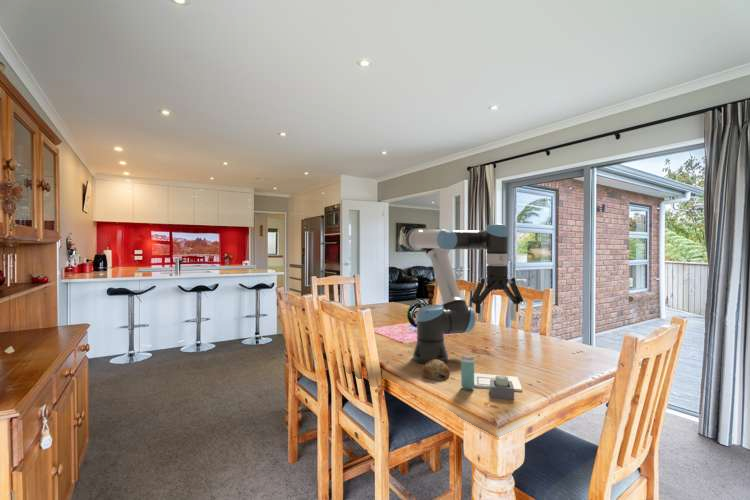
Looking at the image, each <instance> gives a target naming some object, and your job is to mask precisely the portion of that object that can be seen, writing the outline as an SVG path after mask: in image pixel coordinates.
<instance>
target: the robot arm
mask: <svg viewBox="0 0 750 500" xmlns="http://www.w3.org/2000/svg"><path fill="white" fill-rule="evenodd" d="M508 241H509V232H508V226H507V225H506V224H504V223H494V224H493V223H492V224H487V226H486V229H485V230H483V229H482V230H471V229H470V230H459V229H458V230H457V229H444V228H439V227H437V228H425V227H424V228H421V227H420V228H414V229H411V230H409V231H408V232H407V234H406V235H405V238H404V242H405V245H406V246H407V248H408V249H409V250H412V251H414V252H423V253H426V257H427V258H428V259H430V261H431V265H432V268H433V272H434V275H435V278H436V282H437V286H438V290H439V294H440V297H441V300H442V304H429V305H428V304H427V305H423V306H421V307H420V308H418V309H417V312H416V313H417V315H416V329H417V330H416V335H417V336H416V344H415V348H414V351H413V353H412V359H413V361H414V362H416V363H419V364H422V365H423V364H424V365H426V363H427V362H429V361H430V360H433V359H437V360H440V361H443V362H444V363H445V364H446V363H447V362H448V361H449V355H448V350H447V348H446V346H445V341H444V340H445V335H457V334H464V333H469V332H471V331H472V330H473V329H474V327H475V323H476V318H477V322H478V323H481V324H483V323H484V305H483V304H482V303H483V302H484V301H485V299H486V298H487V297H488V295H489V294H490V293H491V292H492V291H497V290H500V291H501V290H502V291H503V292H504V293H505V295H506V296H507V298H509V300H511V302H510V310H509V311H510V314H509V315H510V316H509V317H510V318H509V319H510V321H512V322H517V313H518V312H519V305H520V304H521V303H522V302H524V299H523V297H522V294H521V292H520V291H519V288H518V285H517V284H516V283H517V282H516V278H515V277H511V276H510V277H508V274H509V273H508V272H509V271H508V270H509V269H508V266H507V265H508V262H509V261H508V256H509V255H508V251H509V248H508V247H509V246H508ZM451 250H486V264H487V265H486V278H483V277H479V278H478V281H477V282H478V284H477V286H476V288H475V290H474V292H473V295H472V297H471V299H470V303H472V304H475V310H474V308H473V307H472V306H469V305H467V302H466V300H465V299H463V298H462V296H461V294H460V290H459V287H458V285H457V284H458V283H457V280H456V277H455V274H454V271H453V266H452V264H451V262H450V257H449V255H448V254H449V253H450V251H451ZM507 284H509V286H510V288H509V286H508V285H507ZM485 285H486V286H485ZM484 286H485V287H484ZM476 314H477V317H476Z"/></svg>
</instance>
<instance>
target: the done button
mask: <svg viewBox="0 0 750 500" xmlns="http://www.w3.org/2000/svg"><path fill="white" fill-rule="evenodd" d="M506 376H507V375H501V374H498V376H496V377H495V386H501V387H508V377H506Z"/></svg>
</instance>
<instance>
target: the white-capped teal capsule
mask: <svg viewBox="0 0 750 500" xmlns="http://www.w3.org/2000/svg"><path fill="white" fill-rule="evenodd" d="M460 360H461V361H460V364H461V365H460V367H461V368H460V370H461V371H460V376H461V378H460V379H461V381H460V383H461V384H460V385H461V387H462V389H463V390H465V391H473V389H474V388H475V387H474V373H475V357H474V356H472V355H463V356H461V357H460Z"/></svg>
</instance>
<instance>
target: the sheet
mask: <svg viewBox="0 0 750 500" xmlns="http://www.w3.org/2000/svg"><path fill="white" fill-rule="evenodd" d="M498 375H499V374H498ZM498 375H497V374H488V373H487V374H486V373H476V372H474V388H479V389H489V390H490V379H495V377H496V376H498ZM505 376H506V377H508V381H512V384H513V387H514V392H519V393H520V392H523V387H522V385H521V381H520V379H519V377H518V376H513V375H512V376H511V375H505Z"/></svg>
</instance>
